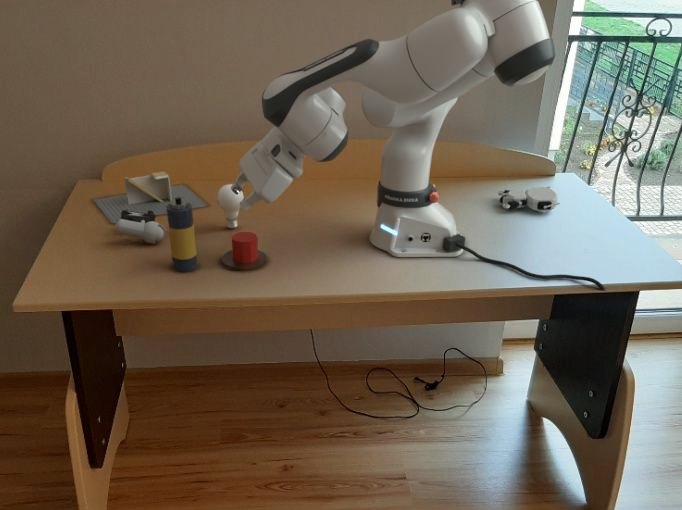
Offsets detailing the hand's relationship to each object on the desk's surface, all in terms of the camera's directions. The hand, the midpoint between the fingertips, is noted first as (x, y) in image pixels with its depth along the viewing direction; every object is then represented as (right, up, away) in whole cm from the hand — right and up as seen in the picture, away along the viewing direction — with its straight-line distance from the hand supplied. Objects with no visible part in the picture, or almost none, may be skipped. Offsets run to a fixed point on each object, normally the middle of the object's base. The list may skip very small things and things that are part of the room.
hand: (237, 199), depth 147 cm
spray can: (-12, -14, +5) cm, 19 cm away
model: (-28, +7, +35) cm, 45 cm away
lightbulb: (-5, -2, +23) cm, 23 cm away
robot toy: (+72, +6, +39) cm, 82 cm away
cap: (+1, -11, +7) cm, 14 cm away
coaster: (0, -12, +8) cm, 14 cm away
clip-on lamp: (-21, -5, +17) cm, 28 cm away
